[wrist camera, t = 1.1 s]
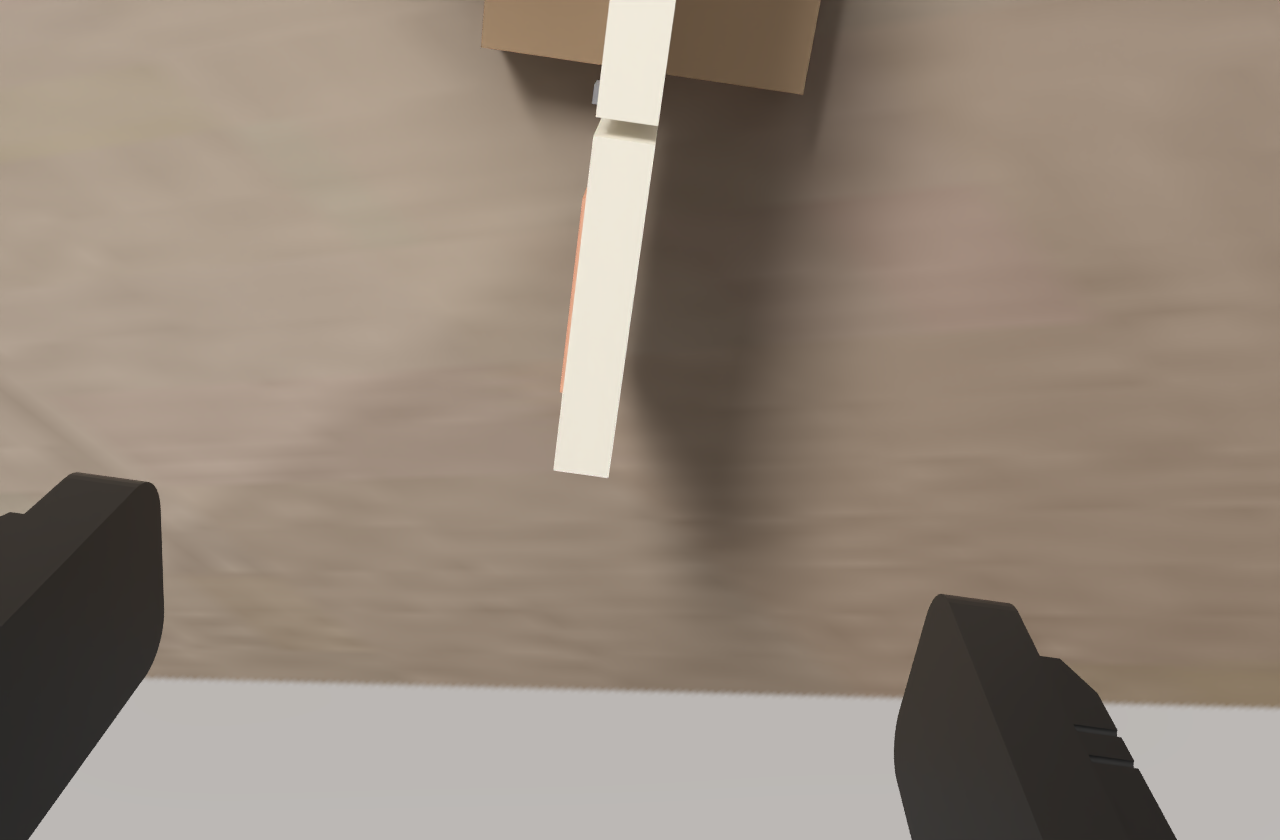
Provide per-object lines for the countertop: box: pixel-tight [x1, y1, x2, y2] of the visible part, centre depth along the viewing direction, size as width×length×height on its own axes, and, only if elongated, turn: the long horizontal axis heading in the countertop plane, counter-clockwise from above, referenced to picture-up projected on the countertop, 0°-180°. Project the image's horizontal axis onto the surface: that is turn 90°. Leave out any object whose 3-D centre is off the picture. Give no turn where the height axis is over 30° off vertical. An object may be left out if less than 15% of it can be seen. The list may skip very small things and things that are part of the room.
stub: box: [554, 116, 660, 478], centre depth 23 cm, size 6×1×7 cm, turn 172°
